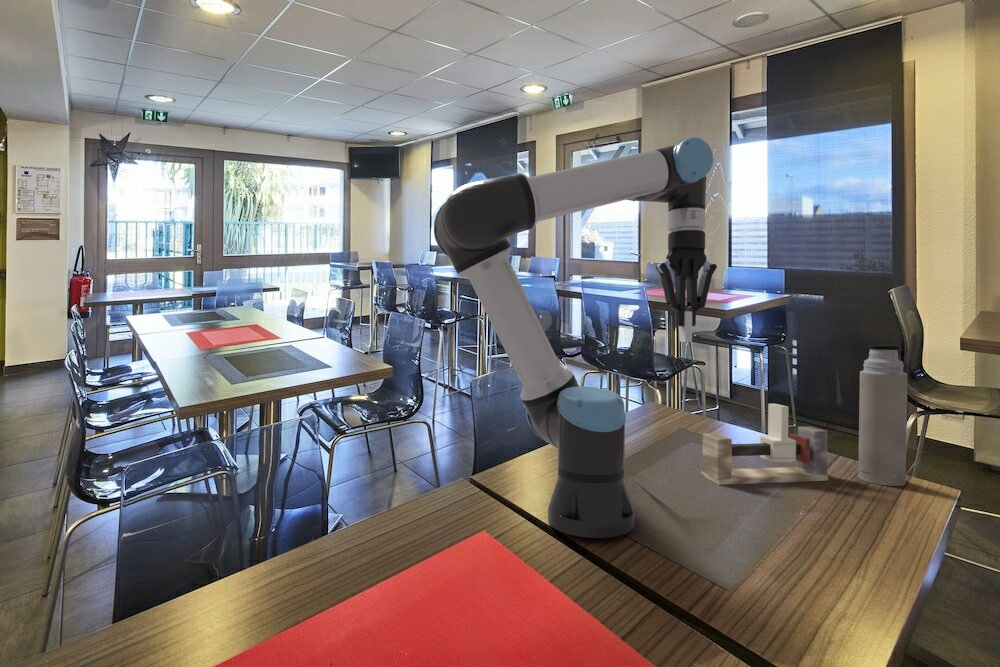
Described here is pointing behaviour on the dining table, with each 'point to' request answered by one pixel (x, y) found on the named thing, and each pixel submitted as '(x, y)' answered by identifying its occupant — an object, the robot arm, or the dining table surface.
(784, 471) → the rail
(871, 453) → the thermos bottle
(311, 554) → the dining table surface
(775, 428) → the cream t-shaped block
